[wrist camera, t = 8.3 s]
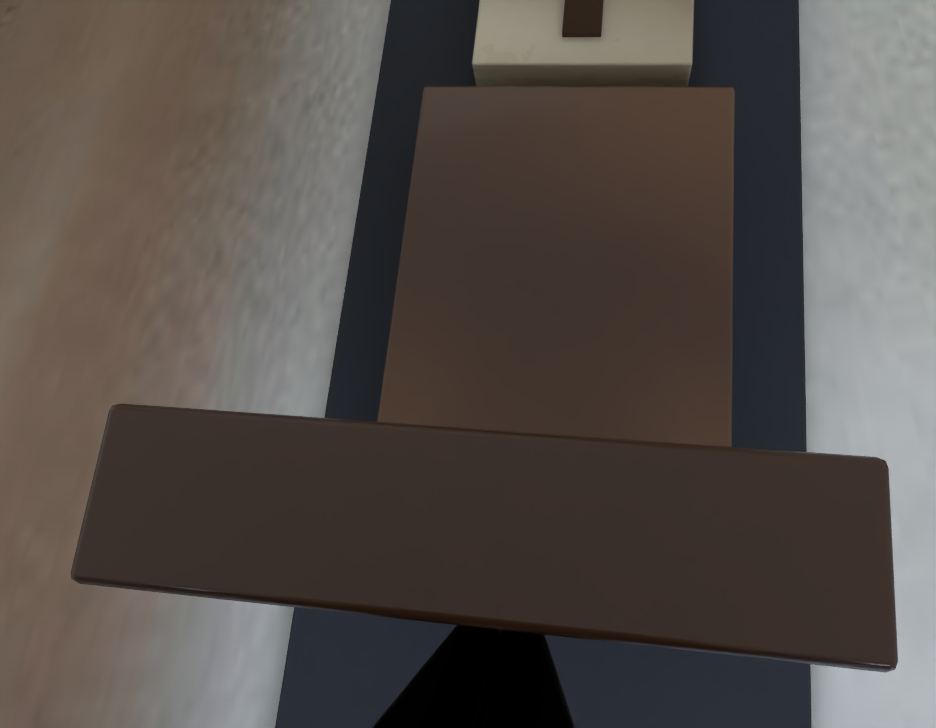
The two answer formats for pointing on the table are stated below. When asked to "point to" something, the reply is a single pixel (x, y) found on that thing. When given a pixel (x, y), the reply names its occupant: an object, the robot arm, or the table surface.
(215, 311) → the table surface
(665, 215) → the brown picture frame
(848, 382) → the table surface
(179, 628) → the table surface
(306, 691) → the word mat
